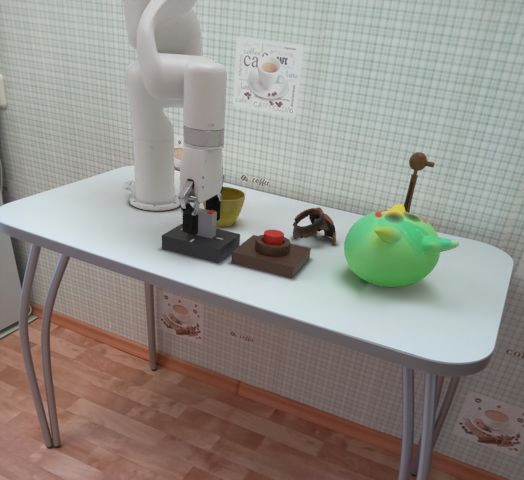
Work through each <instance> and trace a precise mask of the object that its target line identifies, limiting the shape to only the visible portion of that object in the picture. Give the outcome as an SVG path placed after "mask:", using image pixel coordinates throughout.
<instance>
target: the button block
mask: <svg viewBox="0 0 524 480" xmlns="http://www.w3.org/2000/svg"><path fill="white" fill-rule="evenodd" d="M263 238H264V234H260V235H257V234H252V235H251V236H250V237H249V238H247V239H246V240H244V241H243V242H242V243H240V245H239V247H237V248H236V249H235V250H234V251H232V253H231V258H230V259H231V260H230V261H231V263H230V264H233V265H237V266H240V267H245V268H249V269H253V270H257V271H261V272H264V273H268V274H271V275H276V276H280V277H283V278H287V279H293V278H294V277H295V276H296V275H297V274H298V273H299V271H301V269H302V268H303V267H304V266H305V264H306V263H308V261H309V260H310V256H311V249H312V248H311V247H307V246H304V245H298V244H296V243H295V244H294V243H292V242H291V240H290V239H289V238H287V237H285V236H284V239H283V244H281V245H270V244H266V243H264V242H263Z"/></svg>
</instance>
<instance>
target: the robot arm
mask: <svg viewBox="0 0 524 480" xmlns="http://www.w3.org/2000/svg"><path fill="white" fill-rule="evenodd" d="M122 3H123V12H124V21H125V27H126V34H127V38H128V42H129V44H130V46H131V47H132V48H133V49H134V50H136V53H137V58H138V59H136V60H133V61H131V62H130V63H129V64H128V65H127V67H126V70H125V76H124V77H125V86H126V91H127V97H128V102H129V109H130V116H131V126H132V128H131V131H132V146H133V147H132V149H133V169H134V170H133V171H134V180H130V179H125V180H124V184H123V185H122V189H123V190H125V191H130V192H131V194H130V196H129V204H130V205H131V206H133V207H134V208H137V209H139V210H144V211H152V212H153V211H155V212H161V211H164V212H165V211H169V210H174V209H177V208H180V212H181V214H182V223H183V232H185V233H190V234H194V235H197V234H198V216H199V215H198V214H196V213H197V210H198V208H200V204H203V202H204V201H206V210H214V211H216V212H217V221H218V220H220V207H221V202H220V201H221V199H222V195H221V193H222V190H223V187H224V183H225V178H226V177H225V175H224V159H223V158H224V157H223V155H224V154H223V149H224V148H225V130H226V129H225V127H226V103H227V102H226V101H227V84H228V82H227V81H228V73H227V69H226V67H225V66H224V64H222V63H220V62H216V61H214V60H213V59H212V58H210V57H208V56H204V55H203V43H202V41H203V40H202V31H201V25H200V21H199V20H200V19H199V18H198V15H197V13H196V12H195V10H194V9H193V7H194V6H195V5H196V3H197V0H122ZM169 108H182V109H183V147H182V151H181V157H180V166H179V181H178V183H179V185H178V188H179V189H178V195H177V194H175V193H176V192H175V129H174V126H173V124H172V122H171V120H170V119H169V117H168V116H167V115H166V114H165V112H164V109H169ZM191 204H193V205H191Z"/></svg>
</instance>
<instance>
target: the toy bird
mask: <svg viewBox="0 0 524 480" xmlns="http://www.w3.org/2000/svg"><path fill="white" fill-rule="evenodd" d="M459 246H460V243H459V241H457V240H455V239H451V238H446V237H445V238H444V237H439V235H438V233H437V231H436V230H435V228H434V227H433V226H432V224H431V223H429V222H428V221H427V220H426V219H424V218H423V217H421V216H419V215H417V214H415V213H412V212H410V211H409V212H406V211H405V208H404V203H396V204H394V205H393V206H391V207H390V208H389V209H383V210H378V211H373V212H371V213H368V214H366V215H364V216H362V217H360V218H359V219H358V220H356V221H355V222H354V223H353V225H352V226H351V227H350V228H349V230H348V232H347V234H346V236H345V239H344V243H343V252H344V258H345V261H346V263H347V265H348V267H349V268H350V270H351V271H352V272H353V273H354V274H355V275H356V276H357V277H359V278H360V279H361V280H362V281H365V282H367V283H370V284H372V285H374V286H380V287H387V288H399V287H405V286H406V287H407V286H410V285H413V284H415V283H418V282H420V281H421V280H423V279H424V278H426V277H427V276H428V275H430V273H432V271H433V270H434V269H435V267H436V266H437V264H438V263H439V259H440V255H441V253H444V252H447V251H450V250H454V249H456V248H457V247H459Z"/></svg>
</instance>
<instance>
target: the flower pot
mask: <svg viewBox="0 0 524 480" xmlns="http://www.w3.org/2000/svg"><path fill="white" fill-rule="evenodd" d="M221 195H222V199H221V201H220V202H221V207H220V220H218V221H217V222H216V227H220V228H227V227H228V228H229V227H231V226H232V225H234V224H235V222H236V221H237V219H238V217H239V215H240V214H241V212H242V209H243V206H244V203H245V199H246V193H245V192H244V190H241V189H239V188H238V189H237V188H235V187H230V186H223V190H222V193H221ZM202 205H203V209H206V201H204V202H202Z"/></svg>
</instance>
